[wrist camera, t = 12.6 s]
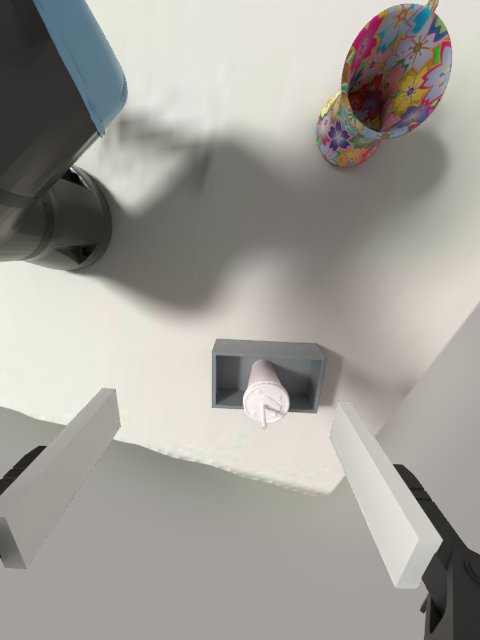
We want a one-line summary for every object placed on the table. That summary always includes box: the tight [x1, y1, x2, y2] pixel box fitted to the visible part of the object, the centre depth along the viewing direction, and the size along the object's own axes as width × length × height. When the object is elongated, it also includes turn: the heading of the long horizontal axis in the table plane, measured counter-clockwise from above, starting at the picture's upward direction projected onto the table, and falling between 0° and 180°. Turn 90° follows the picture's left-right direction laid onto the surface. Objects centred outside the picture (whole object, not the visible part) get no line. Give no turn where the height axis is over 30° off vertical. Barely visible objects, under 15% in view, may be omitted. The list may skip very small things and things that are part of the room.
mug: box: [317, 0, 452, 167], centre depth 25 cm, size 12×9×11 cm
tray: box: [212, 339, 326, 413], centre depth 39 cm, size 17×10×5 cm, turn 88°
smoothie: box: [243, 360, 290, 430], centre depth 34 cm, size 6×6×14 cm
